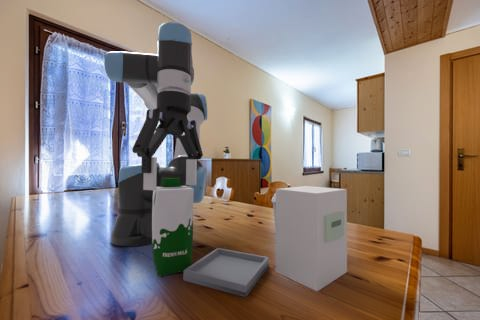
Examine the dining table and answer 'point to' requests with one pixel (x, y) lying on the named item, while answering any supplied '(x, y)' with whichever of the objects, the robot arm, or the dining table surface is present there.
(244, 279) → the tray
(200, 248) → the dining table surface
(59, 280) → the dining table surface
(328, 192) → the box
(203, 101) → the robot arm
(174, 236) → the milk carton
